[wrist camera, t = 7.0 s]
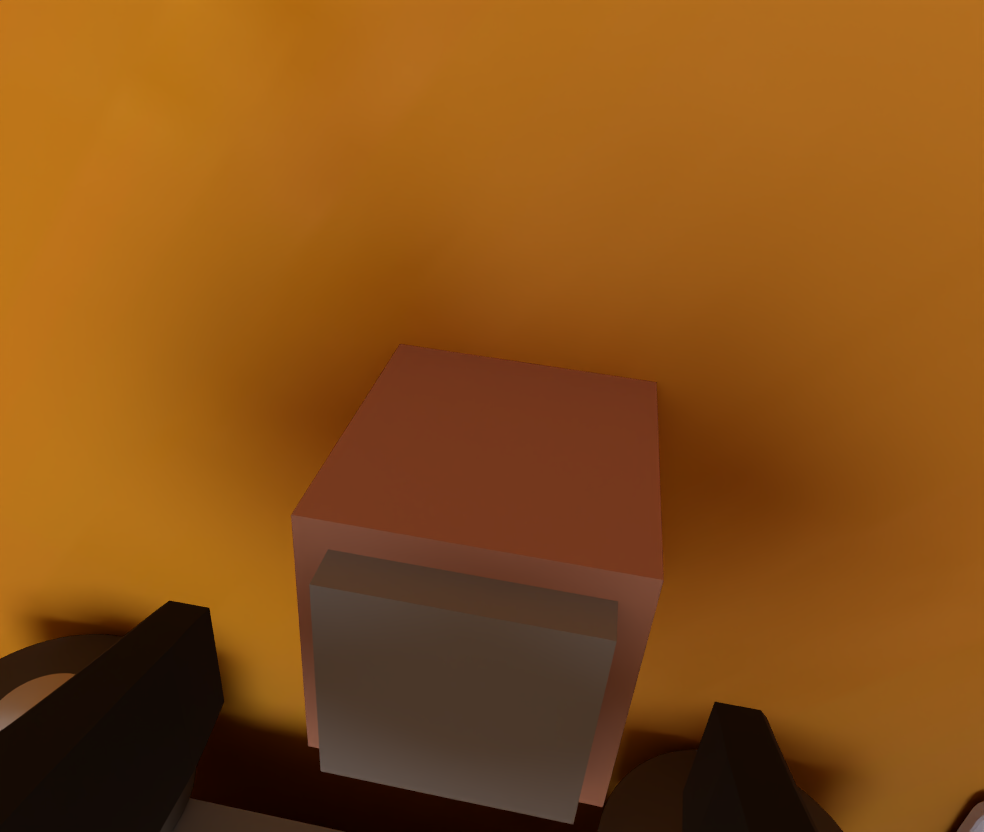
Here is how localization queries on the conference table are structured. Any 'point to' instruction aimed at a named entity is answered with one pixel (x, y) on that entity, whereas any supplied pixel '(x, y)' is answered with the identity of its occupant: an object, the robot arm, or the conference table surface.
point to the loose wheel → (58, 684)
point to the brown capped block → (481, 580)
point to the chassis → (623, 826)
